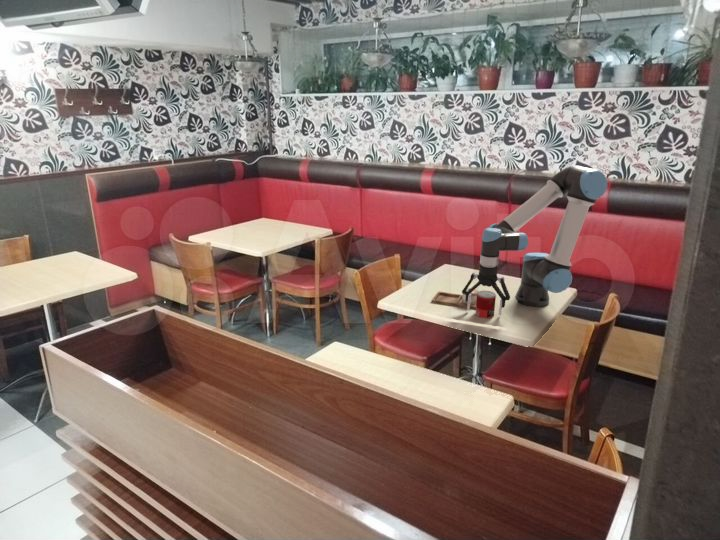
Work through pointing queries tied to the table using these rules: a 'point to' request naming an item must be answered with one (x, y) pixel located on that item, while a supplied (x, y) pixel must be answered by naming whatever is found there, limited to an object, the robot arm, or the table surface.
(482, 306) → the canned food
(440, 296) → the wooden tray
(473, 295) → the sugar pot
